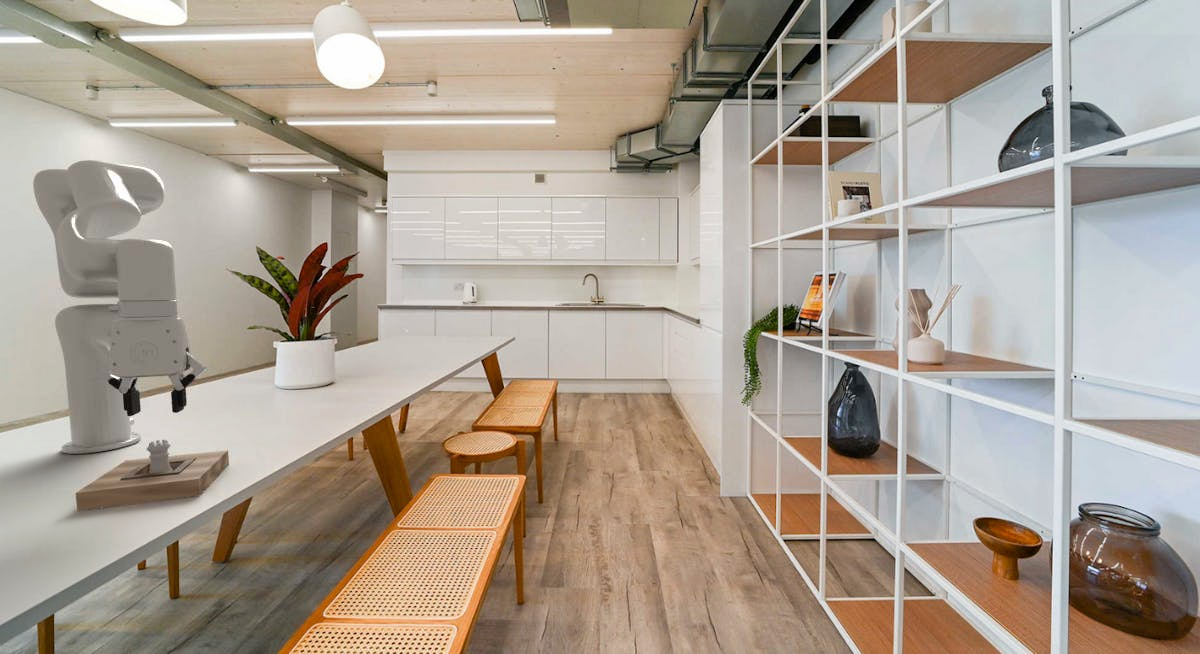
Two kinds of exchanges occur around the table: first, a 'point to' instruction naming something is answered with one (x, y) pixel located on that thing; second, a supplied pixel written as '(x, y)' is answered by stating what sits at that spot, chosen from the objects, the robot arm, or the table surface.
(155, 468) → the rook chess piece
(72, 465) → the table surface
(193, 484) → the walnut board
